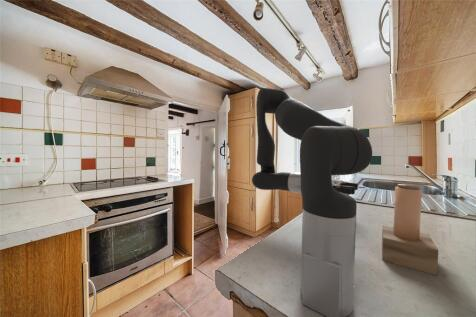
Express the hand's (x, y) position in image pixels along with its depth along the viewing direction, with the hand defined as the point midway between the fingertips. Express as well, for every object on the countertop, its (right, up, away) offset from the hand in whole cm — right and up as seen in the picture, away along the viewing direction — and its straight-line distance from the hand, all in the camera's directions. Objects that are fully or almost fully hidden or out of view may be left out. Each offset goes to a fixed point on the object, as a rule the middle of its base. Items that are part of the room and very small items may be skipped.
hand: (356, 188), depth 57 cm
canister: (+9, -12, -7) cm, 16 cm away
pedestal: (+9, -18, -7) cm, 21 cm away
